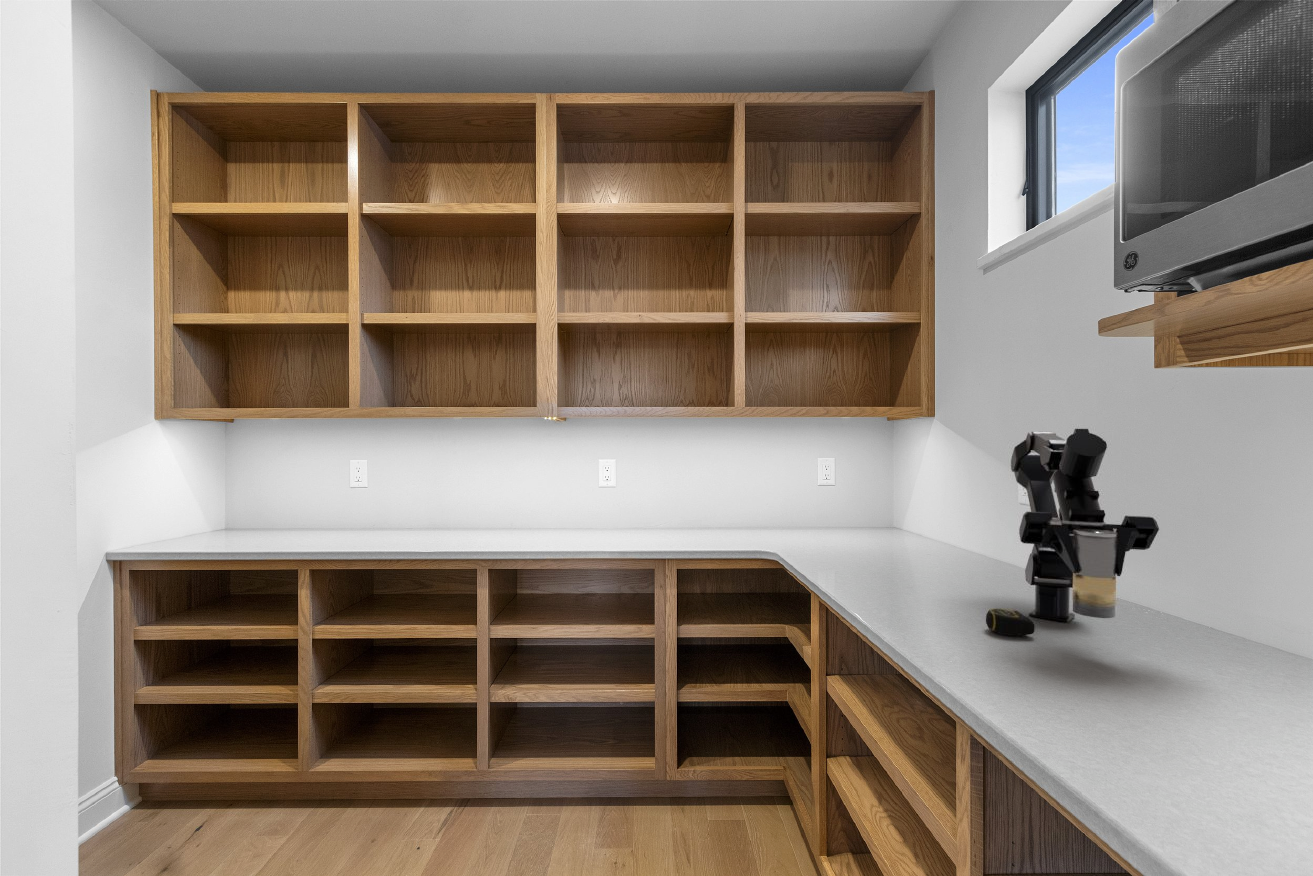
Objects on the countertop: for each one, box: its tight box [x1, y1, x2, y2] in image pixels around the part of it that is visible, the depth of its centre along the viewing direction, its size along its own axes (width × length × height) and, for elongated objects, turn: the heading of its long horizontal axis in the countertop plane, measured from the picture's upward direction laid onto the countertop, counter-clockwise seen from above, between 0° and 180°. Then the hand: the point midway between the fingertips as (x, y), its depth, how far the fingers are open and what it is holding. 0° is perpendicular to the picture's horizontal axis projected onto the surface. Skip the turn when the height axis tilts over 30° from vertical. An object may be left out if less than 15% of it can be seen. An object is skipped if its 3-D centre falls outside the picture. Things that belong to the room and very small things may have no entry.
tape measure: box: [985, 608, 1036, 637], centre depth 117 cm, size 7×7×4 cm
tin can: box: [1072, 529, 1117, 619], centre depth 105 cm, size 6×6×13 cm
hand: (1097, 573), depth 103 cm, fingers closed on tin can, 6 cm apart
